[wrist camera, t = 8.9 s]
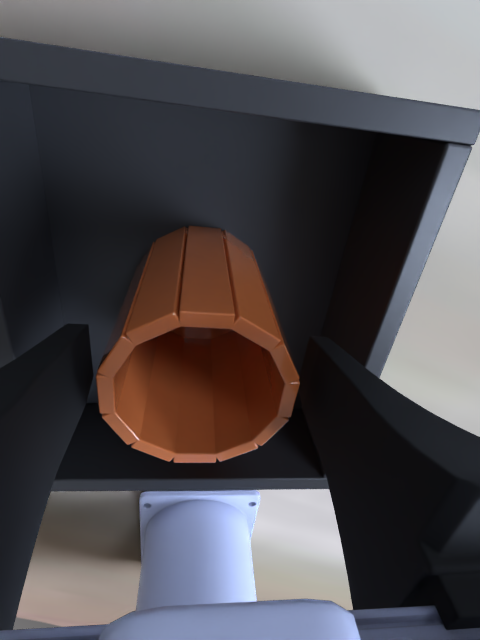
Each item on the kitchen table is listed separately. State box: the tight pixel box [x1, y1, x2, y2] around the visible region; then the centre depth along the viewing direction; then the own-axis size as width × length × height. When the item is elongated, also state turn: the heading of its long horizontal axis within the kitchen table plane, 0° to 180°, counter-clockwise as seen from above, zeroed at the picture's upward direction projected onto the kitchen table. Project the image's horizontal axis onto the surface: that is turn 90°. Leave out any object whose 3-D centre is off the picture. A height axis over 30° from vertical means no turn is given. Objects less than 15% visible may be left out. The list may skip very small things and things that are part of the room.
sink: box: [0, 37, 480, 491], centre depth 14 cm, size 16×14×5 cm
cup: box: [96, 226, 300, 463], centre depth 13 cm, size 6×6×7 cm
